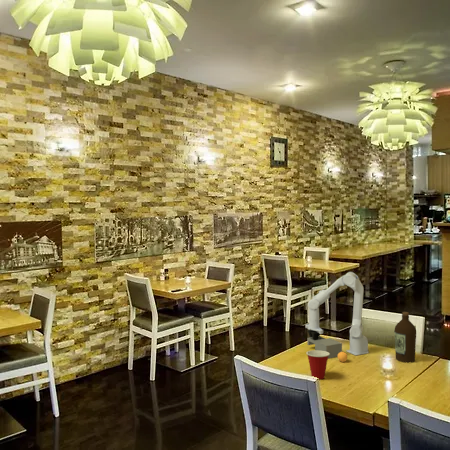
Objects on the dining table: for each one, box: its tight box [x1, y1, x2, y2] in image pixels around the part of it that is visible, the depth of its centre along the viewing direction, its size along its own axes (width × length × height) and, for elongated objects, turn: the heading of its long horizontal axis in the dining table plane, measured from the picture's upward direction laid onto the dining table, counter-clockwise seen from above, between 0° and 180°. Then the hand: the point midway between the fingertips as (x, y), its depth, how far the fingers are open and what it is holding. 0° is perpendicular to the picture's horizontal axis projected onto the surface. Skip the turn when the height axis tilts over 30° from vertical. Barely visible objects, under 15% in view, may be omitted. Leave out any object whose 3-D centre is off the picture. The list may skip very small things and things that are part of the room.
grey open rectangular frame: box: [306, 335, 343, 359], centre depth 244 cm, size 10×19×7 cm, turn 24°
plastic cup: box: [305, 349, 330, 381], centre depth 208 cm, size 11×11×12 cm
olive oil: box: [393, 311, 417, 364], centre depth 230 cm, size 11×11×25 cm
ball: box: [337, 351, 348, 363], centre depth 229 cm, size 5×5×5 cm
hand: (314, 343), depth 252 cm, fingers closed on grey open rectangular frame
